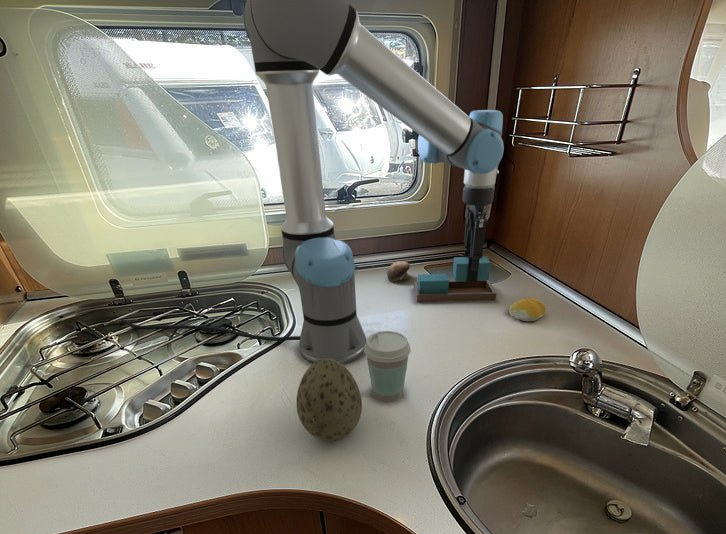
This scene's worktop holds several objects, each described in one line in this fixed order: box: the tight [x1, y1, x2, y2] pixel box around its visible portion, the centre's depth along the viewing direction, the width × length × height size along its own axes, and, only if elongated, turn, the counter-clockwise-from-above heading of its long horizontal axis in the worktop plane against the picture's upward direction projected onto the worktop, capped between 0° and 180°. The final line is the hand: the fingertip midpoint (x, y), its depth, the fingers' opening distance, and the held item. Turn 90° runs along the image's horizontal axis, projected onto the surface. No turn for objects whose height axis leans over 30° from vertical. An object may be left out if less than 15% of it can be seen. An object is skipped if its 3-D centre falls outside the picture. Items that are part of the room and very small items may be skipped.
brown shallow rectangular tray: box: [413, 280, 497, 303], centre depth 119 cm, size 22×10×2 cm, turn 91°
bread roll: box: [508, 297, 547, 322], centre depth 108 cm, size 8×9×4 cm
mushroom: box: [386, 260, 411, 283], centre depth 128 cm, size 8×8×6 cm
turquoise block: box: [417, 273, 450, 294], centre depth 118 cm, size 8×5×5 cm, turn 91°
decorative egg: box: [295, 358, 363, 442], centre depth 70 cm, size 11×11×15 cm
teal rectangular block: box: [452, 255, 492, 282], centre depth 115 cm, size 9×5×5 cm, turn 91°
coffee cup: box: [363, 330, 411, 403], centre depth 79 cm, size 8×8×12 cm
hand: (469, 276), depth 116 cm, fingers closed on teal rectangular block, 5 cm apart
